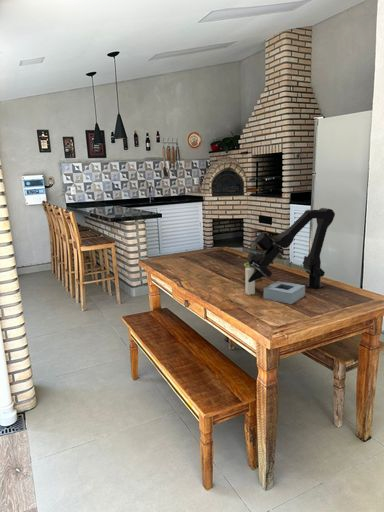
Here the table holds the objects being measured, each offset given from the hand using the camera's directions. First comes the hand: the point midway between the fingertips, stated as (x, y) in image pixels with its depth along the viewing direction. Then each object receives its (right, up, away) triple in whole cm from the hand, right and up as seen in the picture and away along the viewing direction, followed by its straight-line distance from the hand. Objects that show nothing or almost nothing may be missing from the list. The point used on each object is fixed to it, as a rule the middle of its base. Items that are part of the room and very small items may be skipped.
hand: (247, 280), depth 187 cm
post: (+2, -6, +2) cm, 7 cm away
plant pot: (+7, -1, +24) cm, 25 cm away
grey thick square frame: (+16, -7, -5) cm, 19 cm away
